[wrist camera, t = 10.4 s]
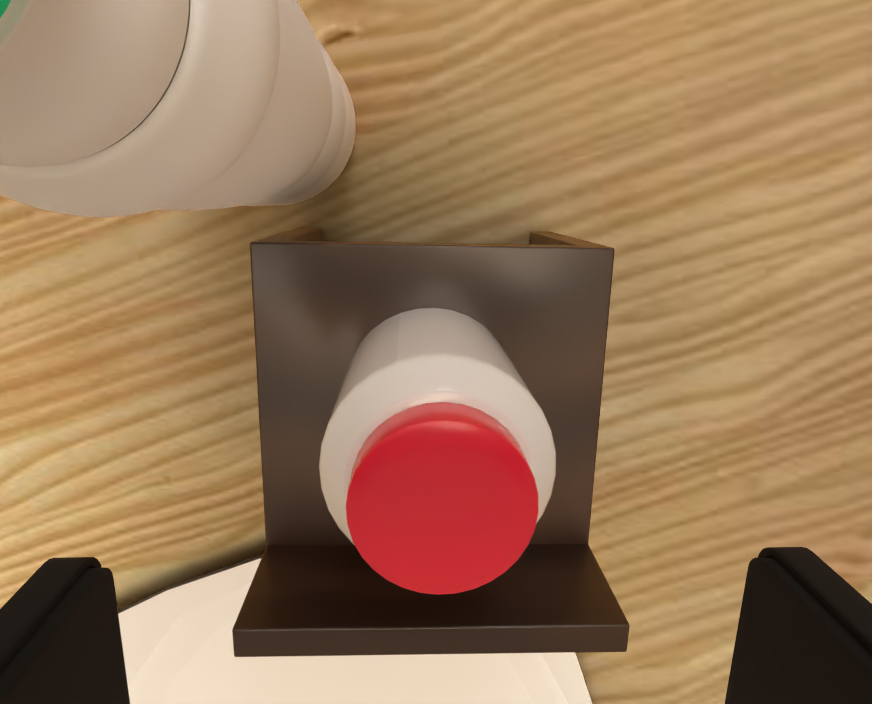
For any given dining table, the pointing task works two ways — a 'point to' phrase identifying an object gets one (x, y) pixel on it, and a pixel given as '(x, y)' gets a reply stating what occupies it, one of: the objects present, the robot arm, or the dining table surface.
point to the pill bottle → (436, 454)
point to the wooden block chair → (312, 407)
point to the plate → (310, 661)
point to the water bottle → (167, 106)
